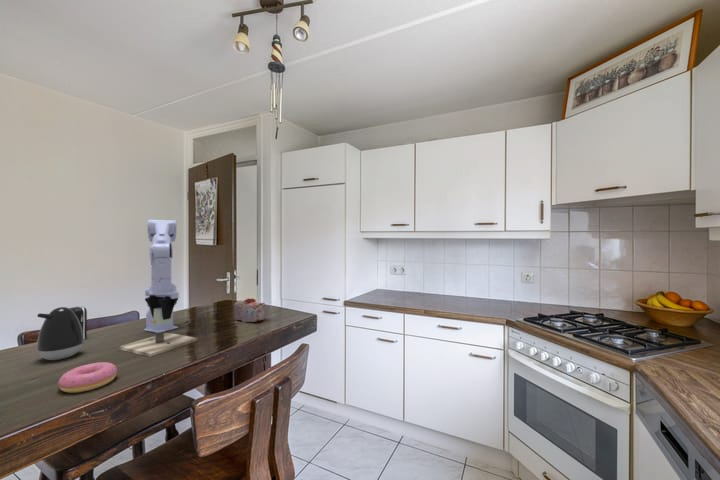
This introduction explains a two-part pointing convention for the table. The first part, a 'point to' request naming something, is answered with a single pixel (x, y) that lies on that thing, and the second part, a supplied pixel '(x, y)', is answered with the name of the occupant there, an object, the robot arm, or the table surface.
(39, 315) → the black kettle
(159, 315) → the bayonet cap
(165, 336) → the post board
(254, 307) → the food item
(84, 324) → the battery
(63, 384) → the doughnut
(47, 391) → the table surface
